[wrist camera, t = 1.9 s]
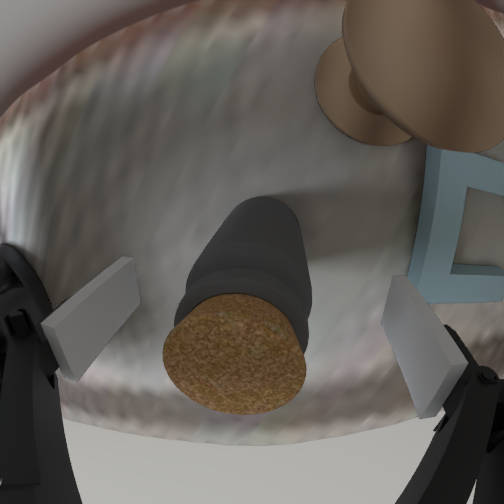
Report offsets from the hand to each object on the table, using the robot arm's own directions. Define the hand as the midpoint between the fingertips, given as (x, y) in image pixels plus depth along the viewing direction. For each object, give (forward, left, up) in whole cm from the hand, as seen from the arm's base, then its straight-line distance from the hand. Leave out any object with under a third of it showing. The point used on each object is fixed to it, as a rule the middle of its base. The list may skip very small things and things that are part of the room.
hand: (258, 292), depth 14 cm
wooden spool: (+8, +12, -9) cm, 17 cm away
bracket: (+19, +2, -9) cm, 21 cm away
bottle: (0, 0, -10) cm, 10 cm away
